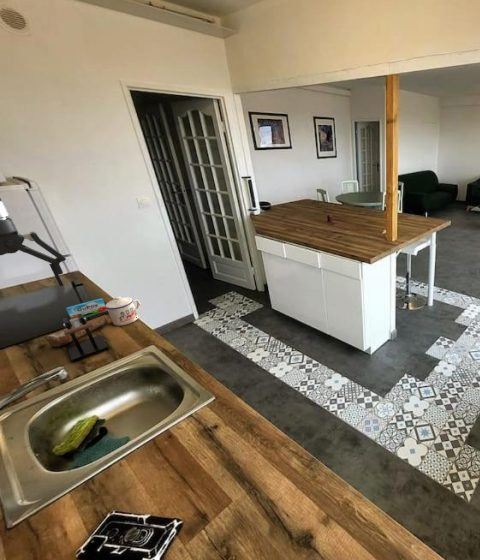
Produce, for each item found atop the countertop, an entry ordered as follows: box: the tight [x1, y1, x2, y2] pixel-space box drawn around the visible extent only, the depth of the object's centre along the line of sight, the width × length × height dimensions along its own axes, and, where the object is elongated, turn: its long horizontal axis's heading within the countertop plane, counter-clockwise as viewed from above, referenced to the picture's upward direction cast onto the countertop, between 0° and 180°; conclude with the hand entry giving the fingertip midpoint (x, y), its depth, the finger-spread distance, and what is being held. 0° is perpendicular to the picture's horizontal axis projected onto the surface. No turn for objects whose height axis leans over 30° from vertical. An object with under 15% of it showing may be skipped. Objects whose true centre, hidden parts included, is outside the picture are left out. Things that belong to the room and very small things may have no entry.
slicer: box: [62, 314, 110, 363], centre depth 114 cm, size 12×10×14 cm
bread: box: [44, 316, 108, 348], centre depth 123 cm, size 6×19×6 cm, turn 164°
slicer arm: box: [64, 318, 93, 335], centre depth 108 cm, size 13×7×2 cm, turn 50°
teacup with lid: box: [105, 295, 141, 327], centre depth 134 cm, size 12×9×12 cm
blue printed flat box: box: [66, 297, 108, 320], centre depth 137 cm, size 12×2×6 cm, turn 140°
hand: (28, 292), depth 88 cm, fingers open, 13 cm apart
